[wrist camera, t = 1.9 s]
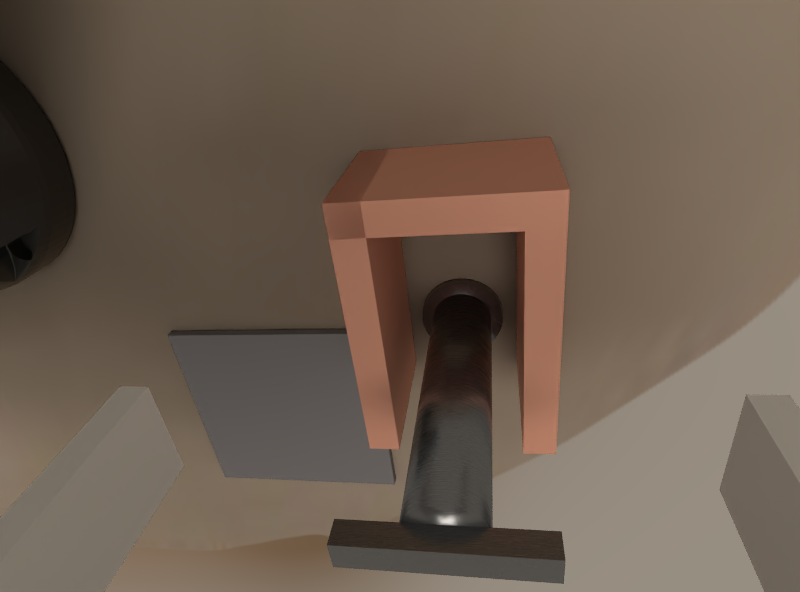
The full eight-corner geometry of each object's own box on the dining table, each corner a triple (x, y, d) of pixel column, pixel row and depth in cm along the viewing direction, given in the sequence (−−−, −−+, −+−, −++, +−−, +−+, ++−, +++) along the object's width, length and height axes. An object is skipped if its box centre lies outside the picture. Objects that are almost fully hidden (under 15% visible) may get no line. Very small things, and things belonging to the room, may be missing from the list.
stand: (400, 344, 32) (341, 593, 19) (391, 280, 29) (317, 513, 17) (531, 344, 30) (561, 611, 18) (532, 276, 28) (567, 527, 15)
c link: (392, 361, 32) (370, 448, 26) (360, 151, 26) (321, 203, 20) (543, 361, 31) (556, 454, 25) (550, 137, 24) (569, 189, 18)
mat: (228, 471, 40) (225, 477, 40) (171, 331, 34) (167, 335, 33) (395, 478, 38) (394, 484, 37) (370, 328, 31) (368, 333, 31)
